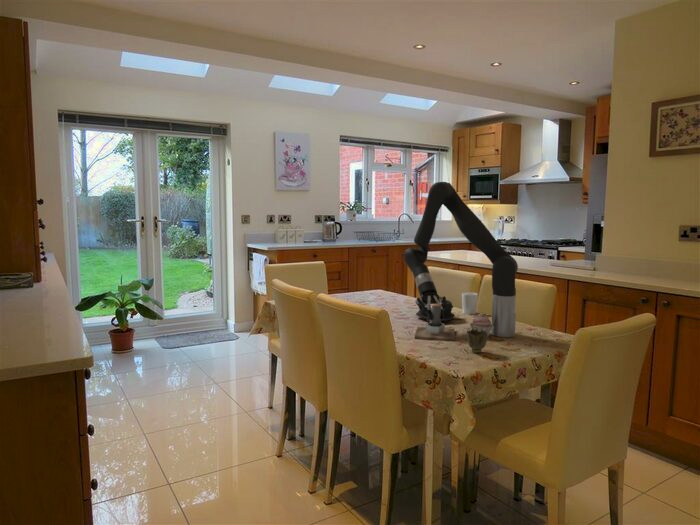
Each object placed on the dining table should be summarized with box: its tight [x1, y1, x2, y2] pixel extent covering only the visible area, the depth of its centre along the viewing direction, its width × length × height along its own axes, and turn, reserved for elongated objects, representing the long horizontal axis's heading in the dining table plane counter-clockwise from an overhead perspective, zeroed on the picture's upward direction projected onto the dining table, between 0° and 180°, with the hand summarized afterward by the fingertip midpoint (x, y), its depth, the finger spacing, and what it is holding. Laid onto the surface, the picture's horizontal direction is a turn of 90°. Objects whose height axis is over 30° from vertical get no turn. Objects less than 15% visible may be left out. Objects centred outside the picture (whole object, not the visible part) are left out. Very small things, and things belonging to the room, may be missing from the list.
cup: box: [466, 328, 488, 354], centre depth 179 cm, size 8×7×8 cm
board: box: [414, 326, 456, 342], centre depth 204 cm, size 16×16×1 cm
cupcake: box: [469, 312, 493, 338], centre depth 202 cm, size 9×9×10 cm
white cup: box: [461, 291, 479, 315], centre depth 246 cm, size 8×8×10 cm
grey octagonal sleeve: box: [425, 322, 446, 335], centre depth 204 cm, size 8×8×4 cm
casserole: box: [415, 299, 456, 322], centre depth 234 cm, size 25×19×8 cm
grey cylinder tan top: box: [429, 303, 441, 326], centre depth 204 cm, size 4×4×10 cm
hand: (437, 318), depth 202 cm, fingers closed on grey cylinder tan top, 4 cm apart
